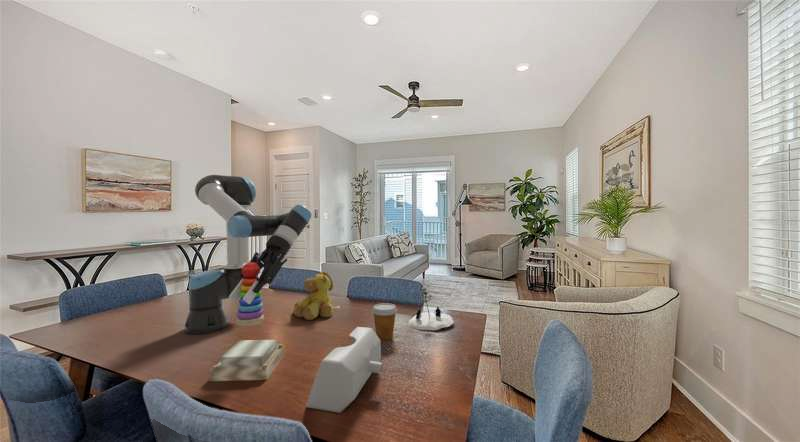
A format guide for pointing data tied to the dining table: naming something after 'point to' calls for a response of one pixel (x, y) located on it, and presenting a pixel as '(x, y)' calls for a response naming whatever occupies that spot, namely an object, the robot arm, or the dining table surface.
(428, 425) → the dining table surface
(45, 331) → the dining table surface
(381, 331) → the disposable coffee cup
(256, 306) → the stacking toy
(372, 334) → the tank
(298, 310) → the giraffe plush
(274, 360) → the plinth
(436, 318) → the figurine
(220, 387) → the dining table surface
